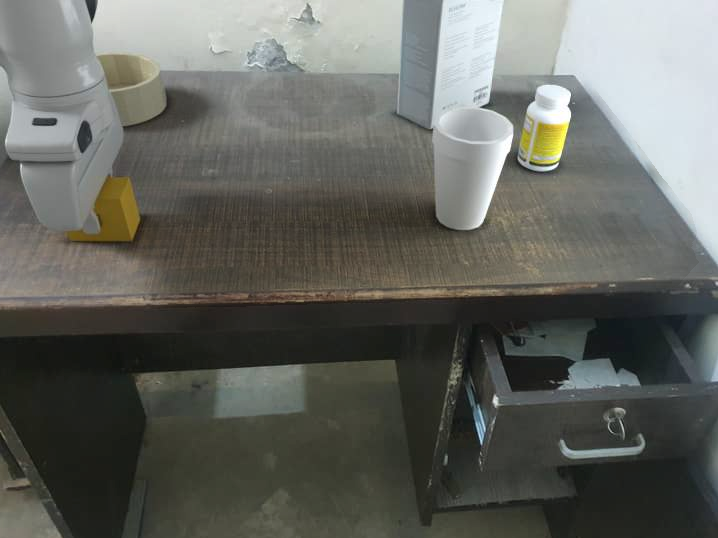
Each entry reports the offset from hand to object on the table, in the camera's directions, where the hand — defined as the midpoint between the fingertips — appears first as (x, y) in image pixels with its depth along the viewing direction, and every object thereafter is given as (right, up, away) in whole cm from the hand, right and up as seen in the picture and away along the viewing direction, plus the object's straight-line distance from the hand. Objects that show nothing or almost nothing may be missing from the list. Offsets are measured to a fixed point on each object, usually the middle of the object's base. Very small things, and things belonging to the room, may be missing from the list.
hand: (100, 215), depth 75 cm
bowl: (-9, +21, +25) cm, 34 cm away
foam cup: (+43, +1, +8) cm, 44 cm away
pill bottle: (+56, +11, +20) cm, 60 cm away
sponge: (0, -2, +1) cm, 2 cm away
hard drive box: (+43, +22, +31) cm, 57 cm away
